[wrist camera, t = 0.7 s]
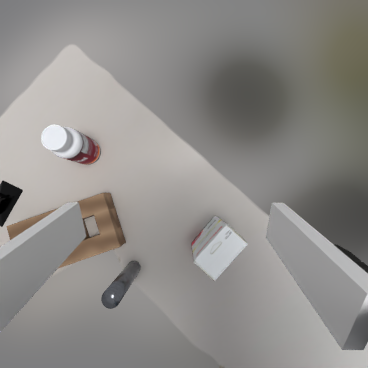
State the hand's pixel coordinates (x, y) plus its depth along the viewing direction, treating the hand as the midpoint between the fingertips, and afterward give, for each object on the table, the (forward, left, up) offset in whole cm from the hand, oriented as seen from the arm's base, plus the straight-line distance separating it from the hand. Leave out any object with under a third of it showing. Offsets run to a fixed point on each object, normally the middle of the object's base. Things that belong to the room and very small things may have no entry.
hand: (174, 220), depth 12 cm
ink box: (-9, -3, -29) cm, 30 cm away
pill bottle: (+19, +18, -29) cm, 39 cm away
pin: (-10, +16, -29) cm, 34 cm away
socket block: (+2, +27, -29) cm, 39 cm away
